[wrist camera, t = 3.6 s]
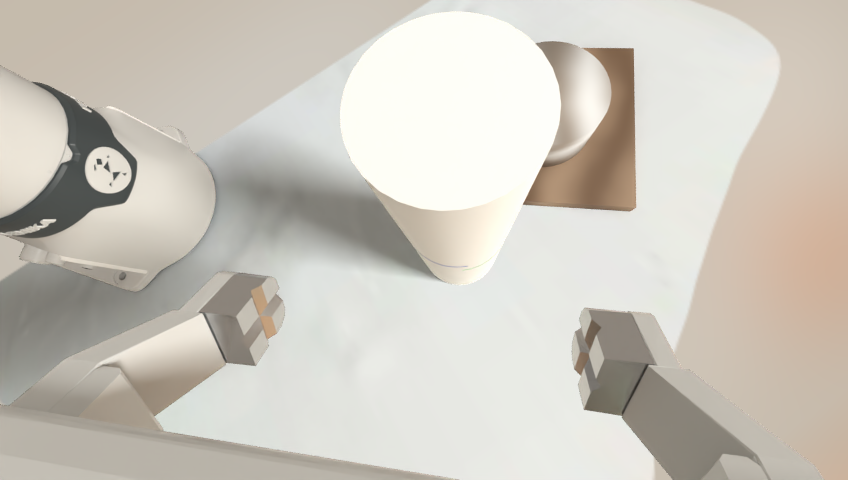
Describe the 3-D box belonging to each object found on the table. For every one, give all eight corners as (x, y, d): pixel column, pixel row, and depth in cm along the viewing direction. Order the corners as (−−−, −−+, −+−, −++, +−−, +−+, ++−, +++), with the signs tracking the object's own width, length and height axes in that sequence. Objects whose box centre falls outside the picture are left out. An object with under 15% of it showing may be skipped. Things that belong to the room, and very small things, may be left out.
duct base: (443, 199, 37) (439, 176, 31) (457, 54, 41) (456, 8, 35) (630, 211, 35) (664, 188, 29) (628, 56, 38) (658, 7, 32)
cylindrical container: (425, 213, 37) (351, 15, 13) (496, 215, 36) (559, 7, 12) (421, 283, 36) (328, 207, 12) (495, 287, 35) (562, 214, 11)
